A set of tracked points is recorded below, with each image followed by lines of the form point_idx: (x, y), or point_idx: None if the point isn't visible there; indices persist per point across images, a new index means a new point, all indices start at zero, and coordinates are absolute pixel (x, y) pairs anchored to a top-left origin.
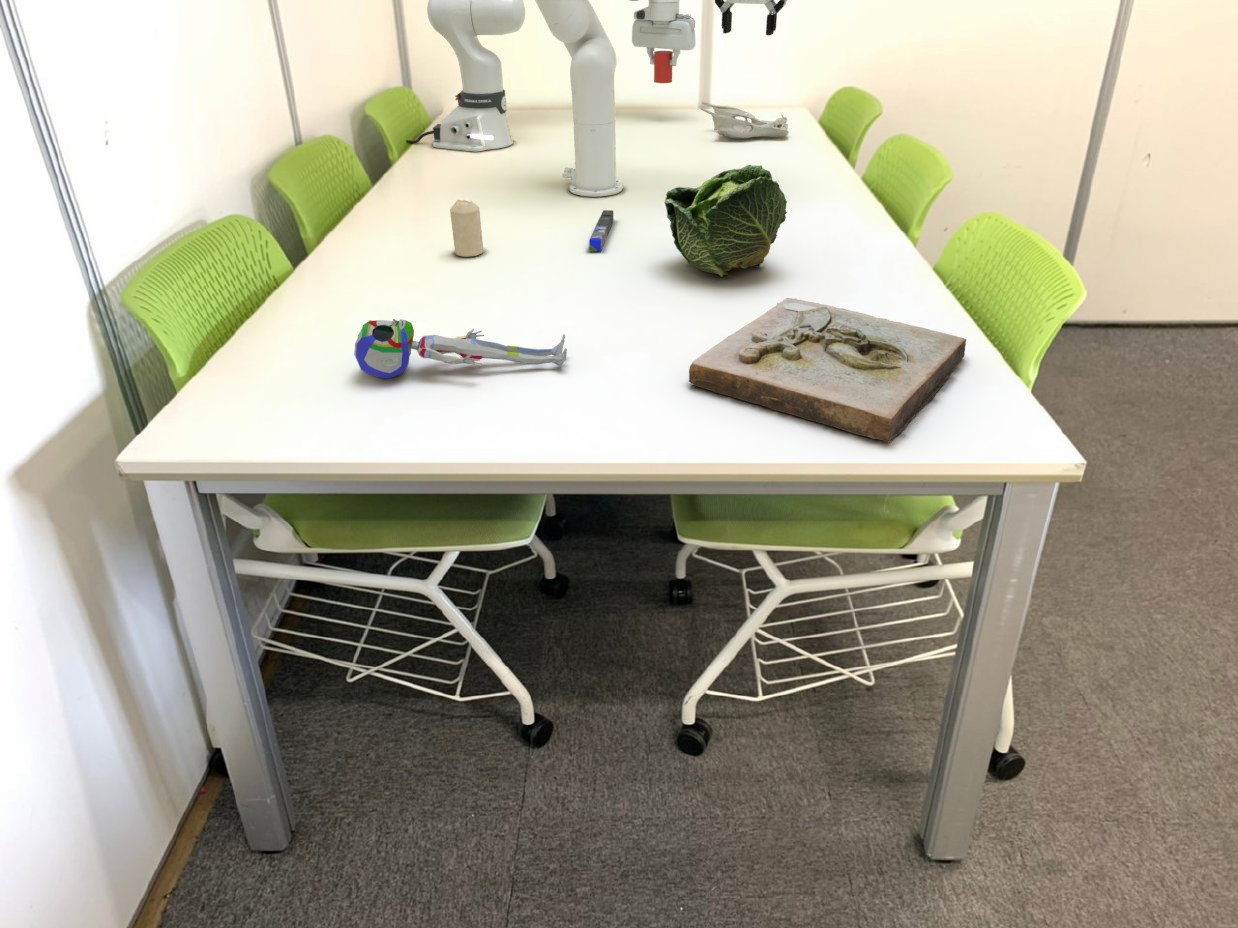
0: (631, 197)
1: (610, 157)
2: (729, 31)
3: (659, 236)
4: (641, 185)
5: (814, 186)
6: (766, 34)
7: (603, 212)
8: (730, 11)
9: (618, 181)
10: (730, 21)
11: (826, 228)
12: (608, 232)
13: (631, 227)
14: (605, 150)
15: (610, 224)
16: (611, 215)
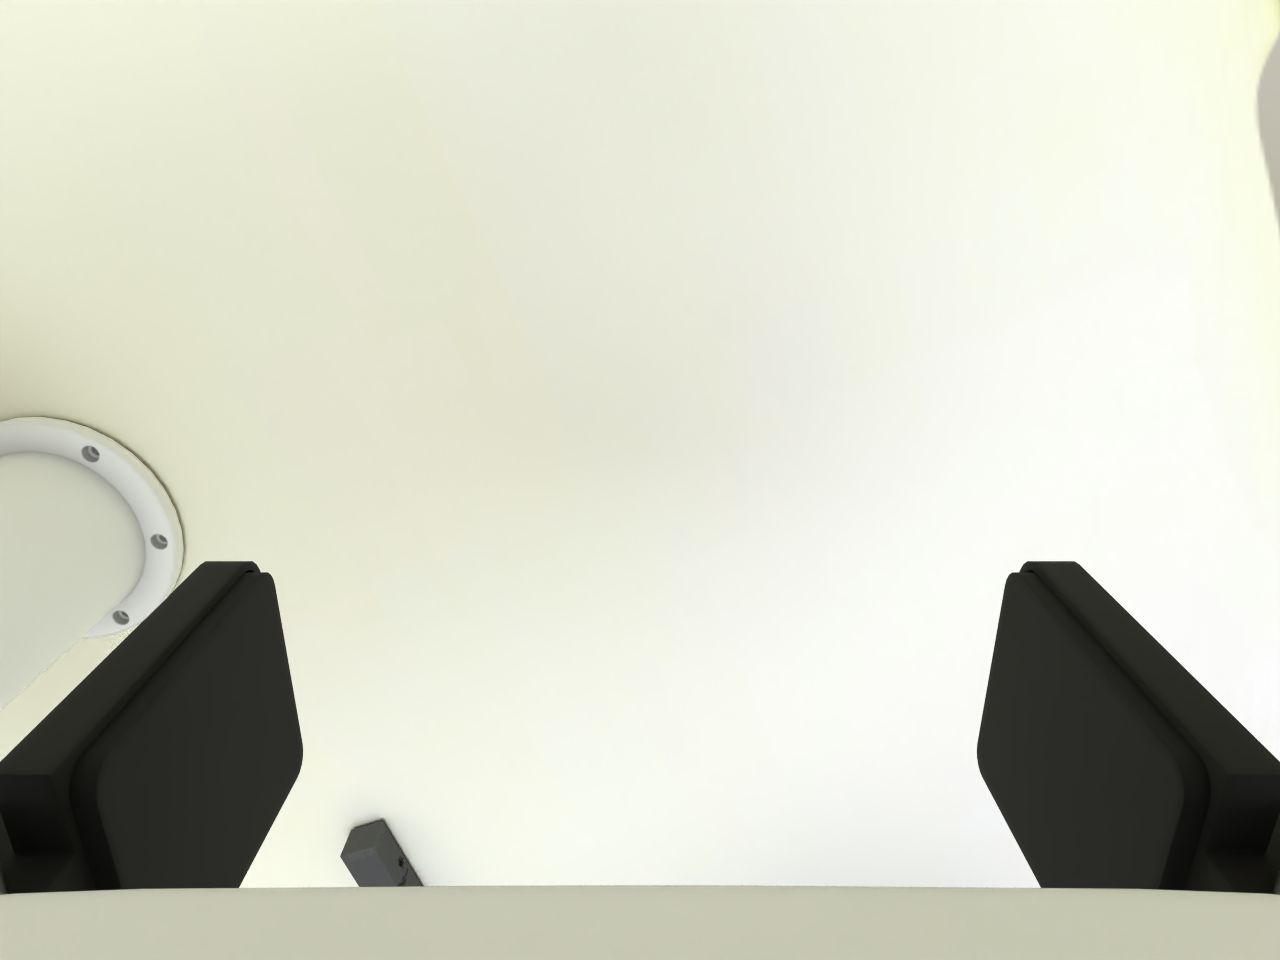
0: (263, 558)
1: (64, 625)
2: (277, 640)
3: (594, 876)
4: (185, 378)
5: (981, 28)
6: (987, 761)
7: (356, 874)
8: (24, 786)
9: (97, 449)
10: (200, 716)
11: None
12: None
13: (469, 841)
14: (34, 672)
15: (414, 886)
16: (396, 882)
